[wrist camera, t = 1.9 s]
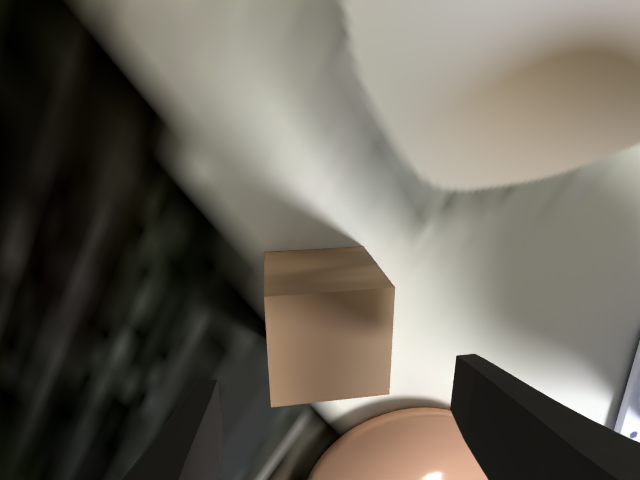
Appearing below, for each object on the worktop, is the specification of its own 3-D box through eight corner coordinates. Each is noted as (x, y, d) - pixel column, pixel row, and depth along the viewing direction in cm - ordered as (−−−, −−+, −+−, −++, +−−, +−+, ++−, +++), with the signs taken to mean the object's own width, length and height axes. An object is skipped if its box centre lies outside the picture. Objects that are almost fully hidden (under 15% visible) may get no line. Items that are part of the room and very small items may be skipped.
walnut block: (363, 245, 17) (395, 287, 13) (361, 331, 19) (389, 394, 14) (264, 251, 17) (263, 296, 12) (269, 339, 18) (271, 407, 14)
